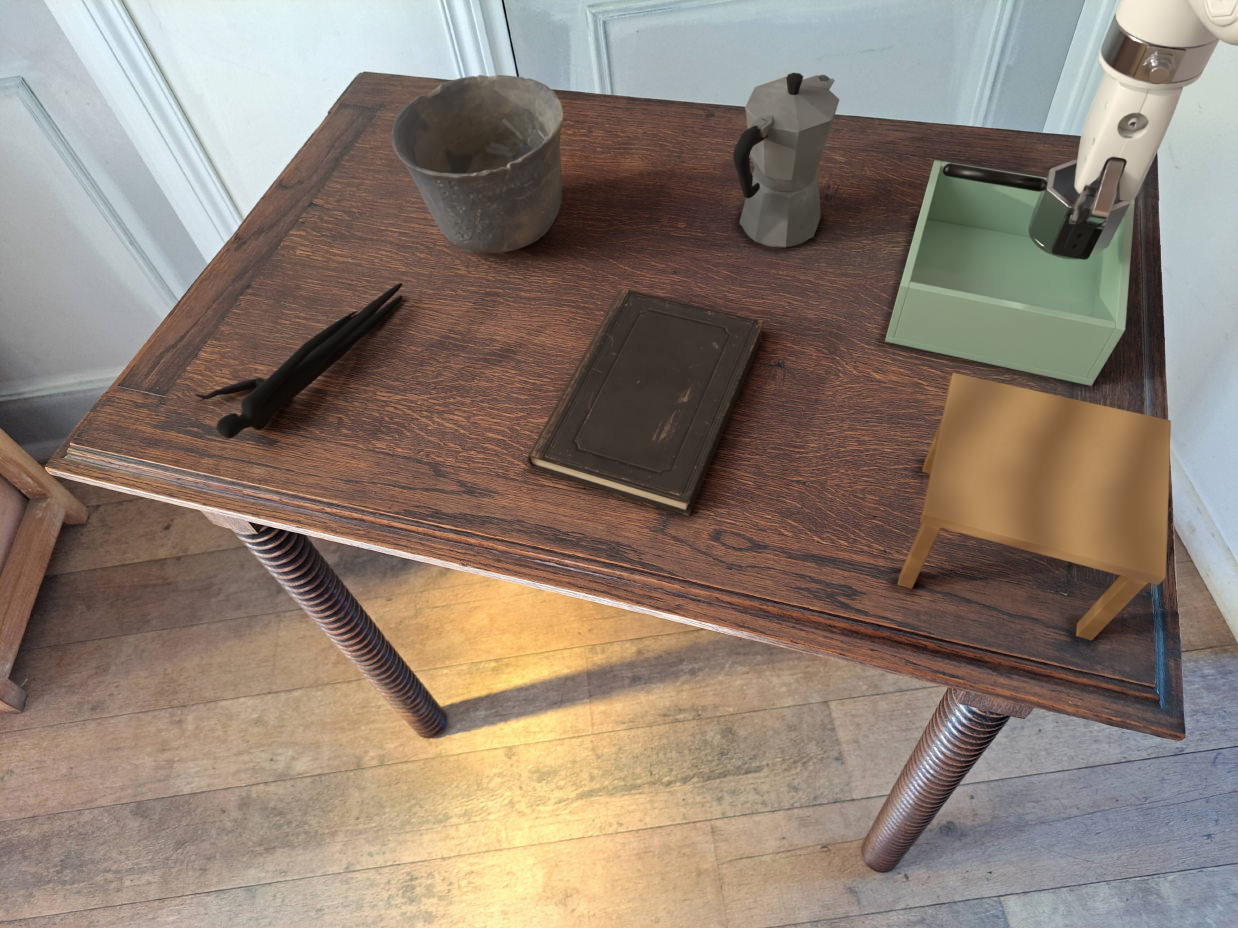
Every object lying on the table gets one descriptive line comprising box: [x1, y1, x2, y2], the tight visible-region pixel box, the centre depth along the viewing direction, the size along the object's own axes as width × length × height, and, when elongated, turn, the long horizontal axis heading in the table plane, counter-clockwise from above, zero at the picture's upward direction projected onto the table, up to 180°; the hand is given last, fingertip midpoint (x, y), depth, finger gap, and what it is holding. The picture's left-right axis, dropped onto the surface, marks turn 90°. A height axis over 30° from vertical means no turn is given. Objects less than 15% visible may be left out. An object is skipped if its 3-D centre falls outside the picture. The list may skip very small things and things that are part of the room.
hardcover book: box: [527, 288, 765, 516], centre depth 84 cm, size 16×23×2 cm
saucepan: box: [943, 159, 1131, 260], centre depth 80 cm, size 16×7×6 cm, turn 69°
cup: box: [390, 74, 564, 254], centre depth 94 cm, size 18×18×15 cm
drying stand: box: [897, 372, 1172, 641], centre depth 68 cm, size 16×14×12 cm
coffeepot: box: [732, 72, 840, 248], centre depth 90 cm, size 15×9×18 cm, turn 137°
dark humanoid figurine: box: [194, 282, 403, 439], centre depth 89 cm, size 8×9×25 cm
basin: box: [884, 159, 1136, 387], centre depth 86 cm, size 20×20×8 cm
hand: (1073, 226), depth 80 cm, fingers closed on saucepan, 7 cm apart
